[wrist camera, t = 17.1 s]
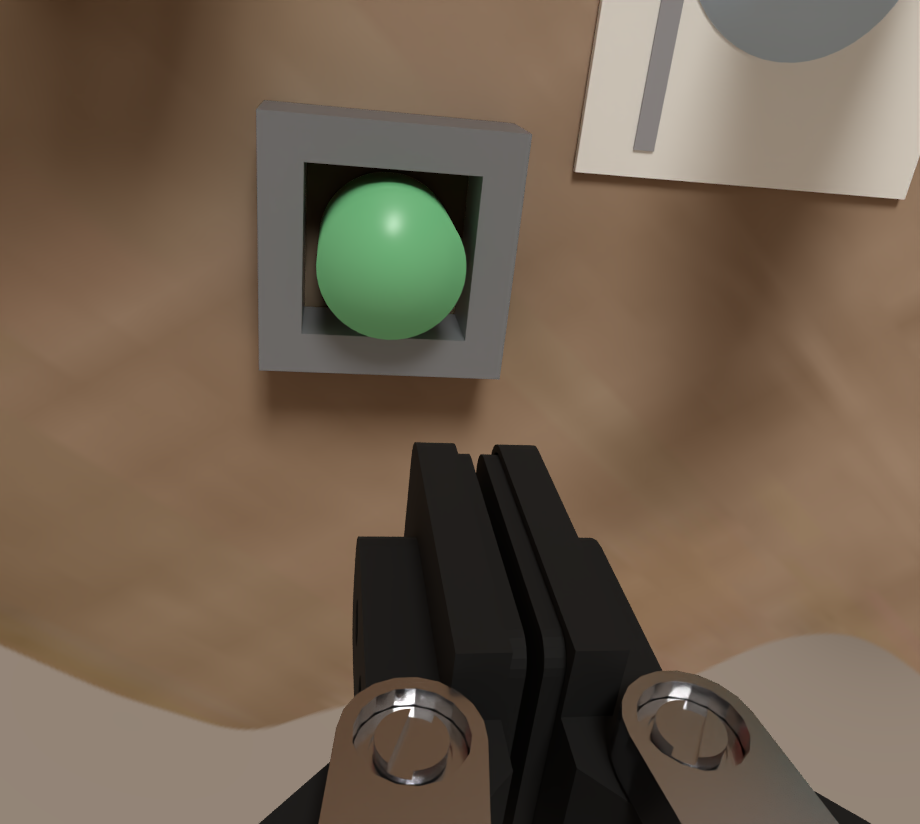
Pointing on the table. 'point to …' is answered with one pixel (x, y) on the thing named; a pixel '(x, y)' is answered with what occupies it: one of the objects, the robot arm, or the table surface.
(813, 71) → the drawing sheet
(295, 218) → the button housing
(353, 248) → the button
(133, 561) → the table surface
